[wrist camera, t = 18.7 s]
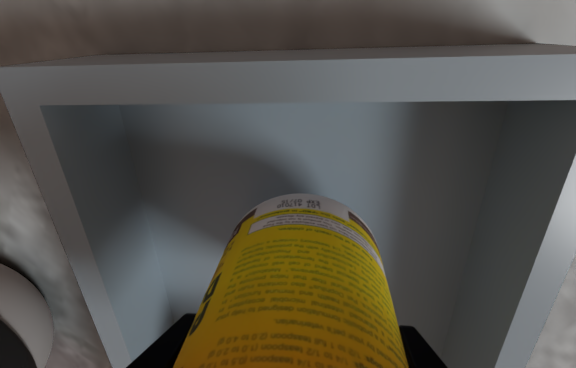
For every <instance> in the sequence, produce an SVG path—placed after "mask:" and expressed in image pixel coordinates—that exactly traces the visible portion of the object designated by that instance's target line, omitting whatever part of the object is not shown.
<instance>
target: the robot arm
mask: <svg viewBox="0 0 576 368" xmlns="http://www.w3.org/2000/svg"><path fill="white" fill-rule="evenodd" d="M196 314H197V313H186V314H184V315H183V316H182V317H181V318H180V319H179V320H177V321H176V322H175V323H174V324H173V325H172V326H171V327H170V328H169V329H168V330H167V331H165V332H164V333H163V334H162V335H161V336H160V337H159V338H158V339H157V340H156V341H154V342H153V343H152V344H151V345H150V346H149V347H148V348H147V349H146V350H145V351H144V352H142V353H141V354H140V355H139V356H138V357H137V358H136V359H135V360H134V361H133V362H131V363H130V364H129V365H128V366H127V367H126V368H173V366H174V364H175V362H176V360H177V357H178V355H179V353H180V351H181V348H182V346H183V344H184V341H185V339H186V336H187V334H188V332H189V330H190V328H191V325H192V323H193V320H194V318H195V316H196ZM399 330H400V335H401V339H402V343H403V347H404V351H405V355H406V359H407V363H408V367H409V368H448V367H447V366H446V365H445V363H444V362H443V361H442V360H441V359H440V357H439V356H438V355H437V354H436V352H435V351H434V350H433V349H432V348H431V346H430V345H429V344H428V343H427V342H426V340H425V339H424V338H423V337H422V336H421V334H420V333H419V332H418V331H417V329H416V328H415V327H413V326H409V325H399Z"/></svg>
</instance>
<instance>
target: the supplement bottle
mask: <svg viewBox="0 0 576 368" xmlns="http://www.w3.org/2000/svg"><path fill="white" fill-rule="evenodd" d="M173 368H409V367H408V363H407V359H406V355H405V351H404V347H403V343H402V339H401V335H400V330H399V326H398V322H397V318H396V315H395V311H394V307H393V303H392V299H391V295H390V291H389V287H388V284H387V280H386V276H385V272H384V267H383V263H382V260H381V256H380V252H379V249H378V246H377V243H376V240H375V238H374V236H373V234H372V232H371V230H370V229H369V227H368V226H367V224H366V223H365V222H364V221H363V220H362V219H361V218H360V216H358V215H357V214H356V213H355V212H354V211H353V210H351V209H350V208H349V207H347V206H345V205H344V204H342V203H340V202H338V201H336V200H333V199H330V198H327V197H324V196H320V195H314V194H303V193H297V194H287V195H282V196H278V197H274V198H271V199H269V200H267V201H264V202H262V203H260V204H259V205H257V206H255V207H254V208H253V209H251V210H250V211H249V212H248V213H247V214H246V215H245V216H244V217H243V218H242V219H241V220H240V221H239V223H238V224H237V226H236V228H235V229H234V231H233V233H232V235H231V237H230V239H229V242H228V244H227V246H226V248H225V250H224V253H223V255H222V257H221V259H220V262H219V264H218V266H217V269H216V271H215V273H214V275H213V278H212V280H211V282H210V284H209V287H208V289H207V291H206V293H205V295H204V298H203V300H202V302H201V305H200V307H199V310H198V312H197V314H196V316H195V318H194V320H193V323H192V325H191V328H190V330H189V332H188V334H187V336H186V339H185V341H184V344H183V346H182V348H181V351H180V353H179V355H178V357H177V360H176V362H175V364H174V366H173Z"/></svg>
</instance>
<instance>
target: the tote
mask: <svg viewBox="0 0 576 368" xmlns="http://www.w3.org/2000/svg"><path fill="white" fill-rule="evenodd" d="M0 92H1V95H2V97H3V100H4V102H5V105H6V107H7V110H8V112H9V115H10V117H11V120H12V122H13V124H14V127H15V129H16V132H17V134H18V137H19V139H20V142H21V144H22V147H23V149H24V151H25V154H26V156H27V159H28V161H29V164H30V166H31V169H32V171H33V174H34V176H35V179H36V181H37V183H38V186H39V188H40V191H41V193H42V196H43V198H44V201H45V203H46V206H47V208H48V211H49V213H50V215H51V218H52V220H53V223H54V225H55V228H56V230H57V233H58V235H59V238H60V240H61V243H62V245H63V247H64V250H65V252H66V255H67V257H68V260H69V262H70V265H71V267H72V270H73V272H74V275H75V277H76V279H77V282H78V284H79V287H80V289H81V292H82V294H83V297H84V299H85V302H86V304H87V307H88V309H89V311H90V314H91V316H92V319H93V321H94V324H95V326H96V329H97V331H98V334H99V336H100V339H101V341H102V343H103V346H104V348H105V351H106V353H107V356H108V358H109V361H110V363H111V366H112V368H126V367H127V366H128V365H129V364H130V363H131V362H133V361H134V360H135V359H136V358H137V357H138V356H139V355H140V354H141V353H142V352H144V351H145V350H146V349H147V348H148V347H149V346H150V345H151V344H152V343H153V342H154V341H156V340H157V339H158V338H159V337H160V336H161V335H162V334H163V333H164V332H165V331H167V330H168V329H169V328H170V327H171V326H172V325H173V324H174V323H175V322H176V321H177V320H179V319H180V318H181V317H182V316H183V315H184V314H186V313H197V312H198V310H199V307H200V305H201V302H202V300H203V298H204V295H205V293H206V291H207V289H208V287H209V284H210V282H211V280H212V278H213V275H214V273H215V271H216V269H217V266H218V264H219V262H220V259H221V257H222V255H223V253H224V250H225V248H226V246H227V244H228V242H229V239H230V237H231V235H232V233H233V231H234V229H235V228H236V226H237V224H238V223H239V221H240V220H241V219H242V218H243V217H244V216H245V215H246V214H247V213H248V212H249V211H250V210H251V209H253V208H254V207H255V206H257V205H259V204H260V203H262V202H264V201H267V200H269V199H271V198H274V197H278V196H282V195H287V194H297V193H303V194H314V195H320V196H324V197H327V198H330V199H333V200H336V201H338V202H340V203H342V204H344V205H345V206H347V207H349V208H350V209H351V210H353V211H354V212H355V213H356V214H357V215H358V216H360V218H361V219H362V220H363V221H364V222H365V223H366V224H367V226H368V227H369V229H370V230H371V232H372V234H373V236H374V238H375V240H376V243H377V246H378V249H379V252H380V256H381V260H382V263H383V267H384V272H385V276H386V280H387V284H388V287H389V291H390V295H391V299H392V303H393V307H394V311H395V315H396V318H397V322H398V326H399V325H409V326H413V327H415V328H416V329H417V331H418V332H419V333H420V334H421V336H422V337H423V338H424V339H425V340H426V342H427V343H428V344H429V345H430V346H431V348H432V349H433V350H434V351H435V352H436V354H437V355H438V356H439V357H440V359H441V360H442V361H443V362H444V363H445V365H446V366H447V367H448V368H525V367H526V365H527V362H528V360H529V358H530V356H531V353H532V351H533V349H534V347H535V344H536V342H537V340H538V338H539V335H540V333H541V331H542V329H543V326H544V324H545V322H546V320H547V317H548V315H549V313H550V311H551V308H552V306H553V304H554V302H555V299H556V297H557V295H558V293H559V290H560V288H561V286H562V284H563V281H564V279H565V277H566V275H567V272H568V270H569V268H570V266H571V263H572V261H573V259H574V257H575V254H576V46H569V45H554V44H540V43H536V44H498V45H459V46H421V47H383V48H345V49H307V50H269V51H231V52H193V53H155V54H117V55H93V56H85V57H76V58H68V59H59V60H51V61H42V62H34V63H25V64H16V65H8V66H0Z"/></svg>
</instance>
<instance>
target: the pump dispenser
mask: <svg viewBox="0 0 576 368" xmlns="http://www.w3.org/2000/svg"><path fill="white" fill-rule="evenodd" d="M53 338H54V325H53V318H52V314H51V311H50V309H49V306H48V304H47V302H46V301H45V299H44V297H43V296H42V295H41V293H40V292H39V291H38V290H37V288H36V287H35V286H34V285H33V284H32V283H31V282H30V281H28V280H27V279H26V278H25V277H23V276H22V275H21V274H19V273H18V272H16V271H14V270H13V269H11V268H9V267H7V266H5V265H3V264H0V368H45V366H46V364H47V361H48V359H49V356H50V353H51V349H52V344H53Z"/></svg>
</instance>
